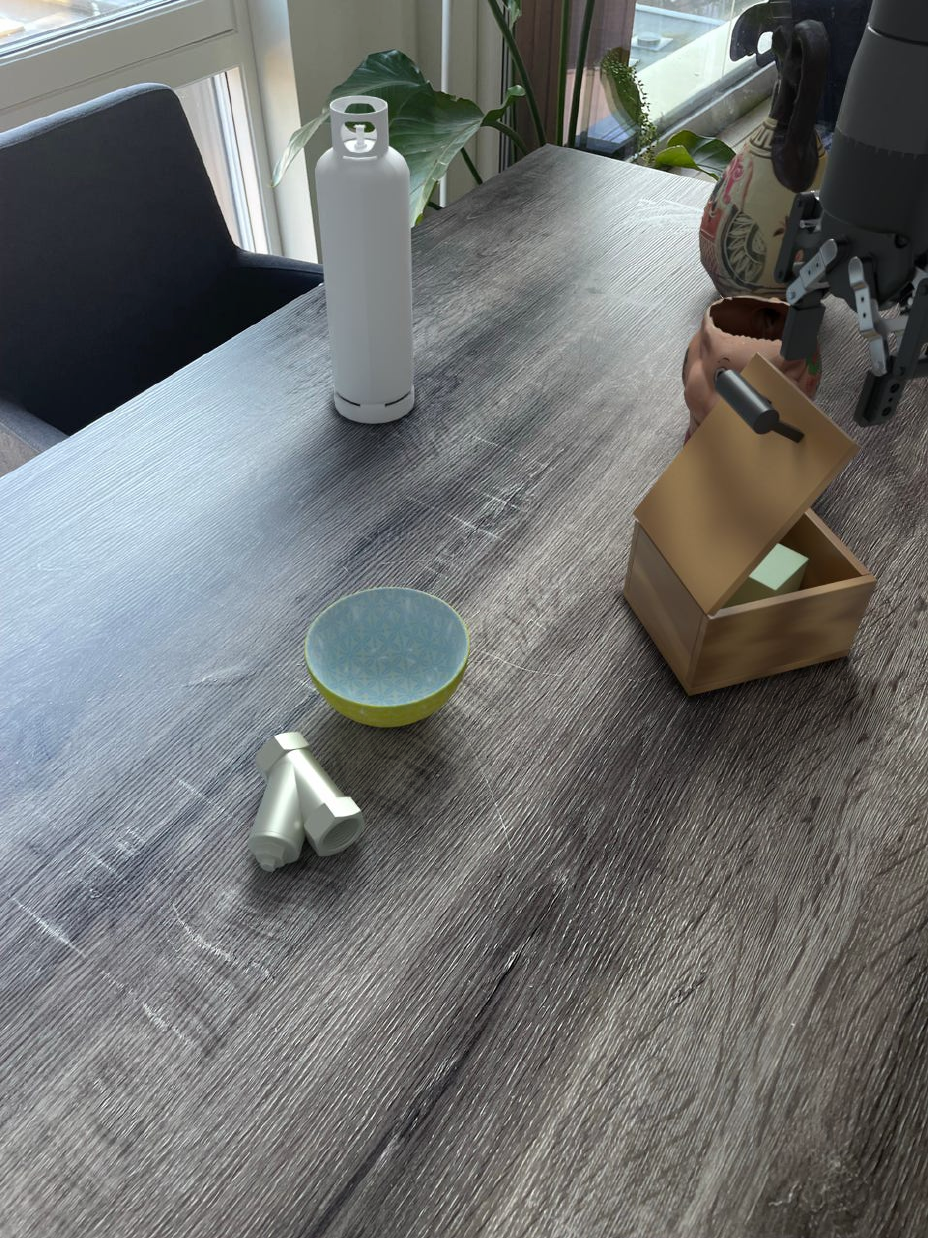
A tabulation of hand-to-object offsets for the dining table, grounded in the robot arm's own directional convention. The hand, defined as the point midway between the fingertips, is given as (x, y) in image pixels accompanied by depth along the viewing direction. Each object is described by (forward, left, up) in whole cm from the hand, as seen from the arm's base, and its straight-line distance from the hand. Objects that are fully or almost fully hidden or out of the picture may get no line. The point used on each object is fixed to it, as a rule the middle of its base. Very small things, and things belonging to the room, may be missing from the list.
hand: (830, 388), depth 65 cm
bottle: (+45, -7, -21) cm, 50 cm away
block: (+1, 0, -20) cm, 20 cm away
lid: (+3, +4, -7) cm, 8 cm away
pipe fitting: (+18, +36, -21) cm, 45 cm away
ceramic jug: (+22, -50, -21) cm, 58 cm away
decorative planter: (+12, -21, -21) cm, 32 cm away
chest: (+2, +2, -21) cm, 21 cm away
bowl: (+19, +24, -21) cm, 37 cm away
